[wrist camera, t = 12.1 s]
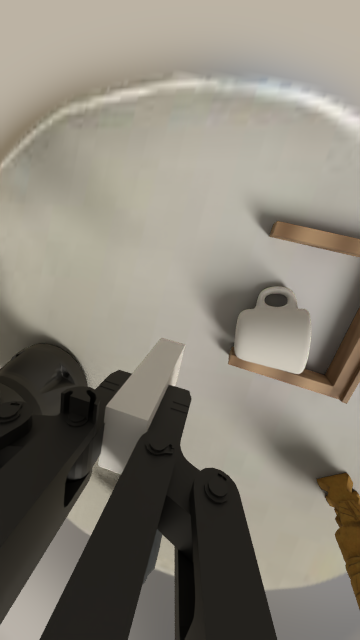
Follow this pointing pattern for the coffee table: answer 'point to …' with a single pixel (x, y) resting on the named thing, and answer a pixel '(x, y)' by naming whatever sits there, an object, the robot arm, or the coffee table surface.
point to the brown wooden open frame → (356, 348)
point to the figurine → (346, 523)
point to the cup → (274, 333)
